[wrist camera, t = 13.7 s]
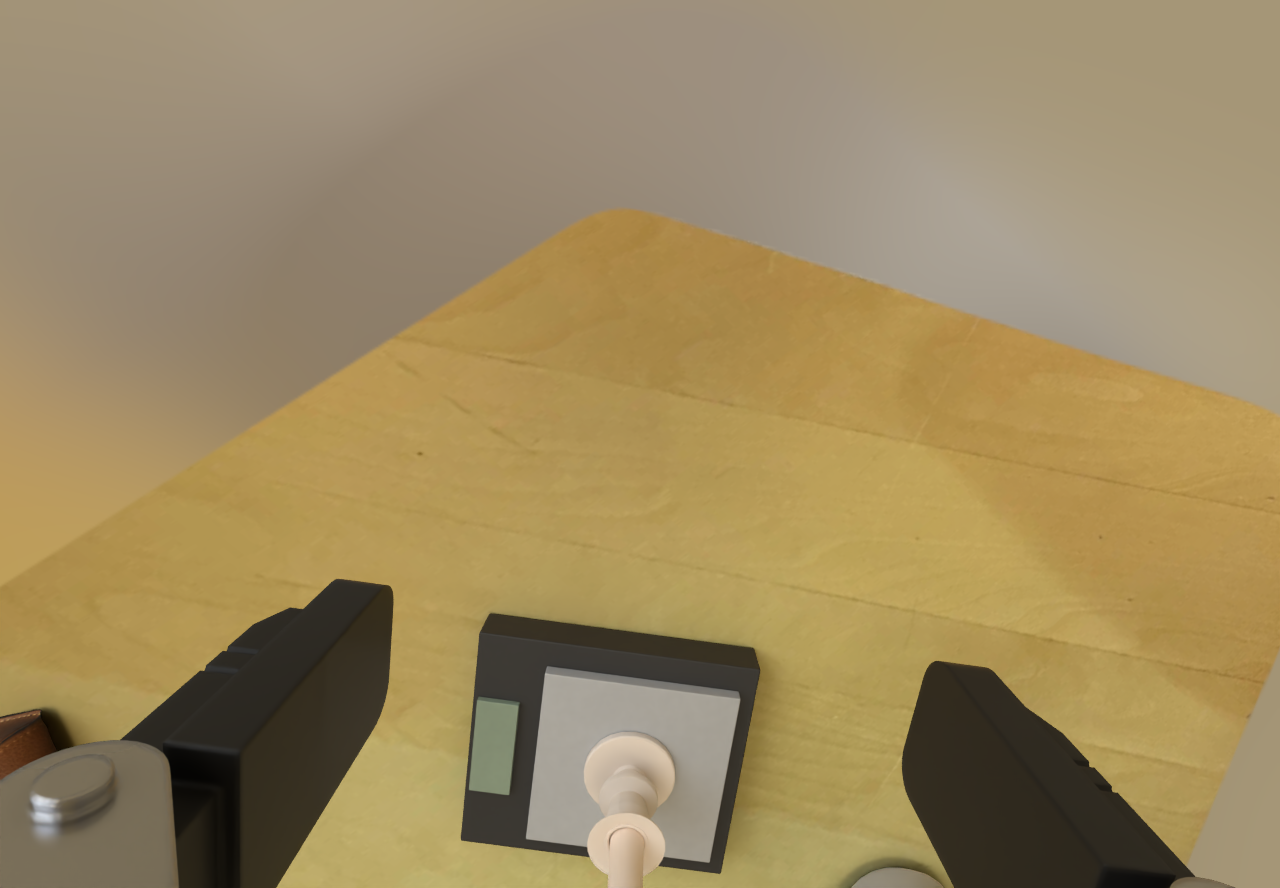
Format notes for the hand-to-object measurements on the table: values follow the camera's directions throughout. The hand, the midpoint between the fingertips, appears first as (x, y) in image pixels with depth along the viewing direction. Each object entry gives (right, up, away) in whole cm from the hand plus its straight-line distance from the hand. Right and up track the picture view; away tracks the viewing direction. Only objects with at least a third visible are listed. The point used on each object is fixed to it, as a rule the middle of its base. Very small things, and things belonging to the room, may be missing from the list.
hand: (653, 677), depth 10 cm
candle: (-1, -15, +28) cm, 32 cm away
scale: (-2, -14, +31) cm, 34 cm away
